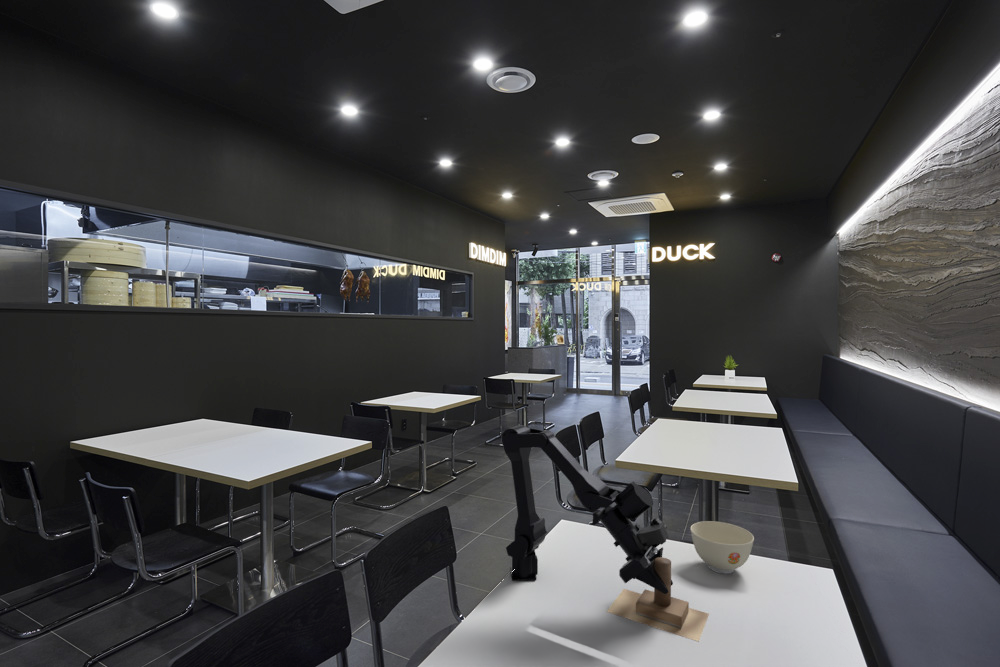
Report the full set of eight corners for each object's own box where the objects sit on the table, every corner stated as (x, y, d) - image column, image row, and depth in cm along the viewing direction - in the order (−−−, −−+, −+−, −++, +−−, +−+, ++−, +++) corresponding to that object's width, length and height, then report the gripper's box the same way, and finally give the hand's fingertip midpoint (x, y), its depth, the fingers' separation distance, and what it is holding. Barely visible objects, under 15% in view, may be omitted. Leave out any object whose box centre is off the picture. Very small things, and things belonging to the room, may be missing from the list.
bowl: (748, 560, 143) (749, 525, 143) (757, 587, 128) (758, 548, 128) (689, 551, 148) (689, 518, 148) (691, 576, 133) (691, 539, 133)
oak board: (606, 615, 115) (606, 611, 115) (623, 592, 125) (623, 588, 125) (698, 646, 104) (698, 641, 104) (709, 618, 114) (709, 613, 114)
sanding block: (635, 613, 114) (636, 561, 113) (644, 599, 120) (645, 549, 119) (681, 628, 108) (682, 573, 108) (688, 612, 114) (689, 560, 114)
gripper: (634, 523, 108) (686, 589, 102) (657, 499, 124) (704, 554, 118) (599, 551, 112) (647, 615, 106) (625, 523, 128) (669, 578, 122)
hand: (669, 589), depth 113 cm, fingers closed on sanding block, 4 cm apart
